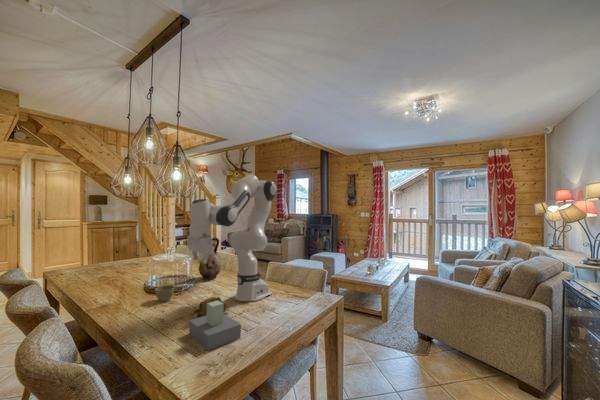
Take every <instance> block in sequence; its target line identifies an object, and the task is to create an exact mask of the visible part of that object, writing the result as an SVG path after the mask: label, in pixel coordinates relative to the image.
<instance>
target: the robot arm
mask: <svg viewBox="0 0 600 400" xmlns="http://www.w3.org/2000/svg"><path fill="white" fill-rule="evenodd" d="M230 190H231V191H230V193H231V196H232V197H233V199H234V200H233V201H232V202H231V203H230V204H228V205H215V204H213V203H211V202H210V201H209V199H206V198H201V199H195V200H193V201H192V203H191V204H190V207H189V208H190V209H189V210H190V211H189V219H190V224H189V230H187V231H186V233H185V234H186V236H187V237H186V238H187V239H186V243H187V249H188V250H189V251H191V254H192V256H193V257H192V258H193V261H198V260H199V256H198V254H201V255H202V258H203V260H202V259H201V260H202V263H204V264H205V263H207V259H208V256H209V255H211V254H213V250H214V247H213V243H214V241H212V237H211V236H210V235H211V232H210V231H211V227H210V225H214V226H224V227H231V226H233V225H234V224H235V222H236V221H237V220H238V216H239V215H240V213H241V212H242V211H243V209H244V208H245V207H246V206H247V204H248V203H249V201H250V199H251V198H252V199H253V198H255V203H254V205H253V207H252V208H251V210H250V213H249V215H248V218H247V224H248V225H249V230H248V231H247V230H237V231H234V232H232V233H231V234H230V237H229V244H230V246H231V247H232V248H233V250H234V251H235V254H236V257H237V258H236V259H237V264H238V265H237V268H238V270H237V271H238V272H237V276H236V277H237V279H236V281H237V288H236V293H235V296H234V298H235V300H237V301H240V302H258V300H259V301H261V300H263V299H265V298H264V297H266V296H268V295H270V296H272V295H273V292H272V290H270V287H269V285H268V283H267V282H265V281H264V280H262V279H261V278H260V277H263V276H264V274H263V273H261V272H258V259H257V257H256V256H255V255H254V254H253V252H260V251H264V250H265V249H266V247H267V245H268V237H267V236H266V234H265V225H266V224H267V220H268V218H269V215H270V213H271V208H272V201H273V199H274V198H275V197H276V195H277V192H278V186H277V184H276V183H275V182H274V181H272V180H259V179H258V177H257V176H256V175H254V174H248V175H246V176H243V177H242V178H240V179H239V180H238V181H236V182H235V183H234V184H233V185H232V187H231V189H230ZM203 256H204V257H203ZM271 294H272V295H271ZM268 297H269V296H268ZM262 298H263V299H262ZM266 298H267V297H266ZM260 299H261V300H260Z"/></svg>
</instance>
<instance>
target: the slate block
mask: <svg viewBox="0 0 600 400" xmlns="http://www.w3.org/2000/svg"><path fill="white" fill-rule="evenodd" d="M241 326H242V325H241V323H239V322H238V321H236V320H235V319H233V318H231V317H230V316H228V315H227V314H225V313H223V323H221V324H218V325H215V326H211V325H209V324H208V323H206V316H203V317H199V318H198V317H197V318H193V319H189V326H188V328H189V331H188V333H189V335H190V336H192V338H194V339H195V340H196V341H197V342H198V343H199V344H200V345H201V346H203V348H205V349H206V350H207V351H211V350H214V349H216V348H219V347H221V346H224V345H226V344H228V343H231V342H234V341H236V340H238V338H239V339H241V337H242V335H241V331H242V330H241V329H242V327H241Z"/></svg>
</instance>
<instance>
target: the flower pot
mask: <svg viewBox="0 0 600 400" xmlns="http://www.w3.org/2000/svg"><path fill="white" fill-rule="evenodd" d="M175 289H176V288H175V285H173V284H172V285H169V284H167V285H162V286H158V287H156V288H154V293H155V295H156V298H157V299H158V300H159V302H161V303H166V302H169V301H170V300H171V299H172V297H173V295H174V292H175Z"/></svg>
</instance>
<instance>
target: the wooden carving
mask: <svg viewBox="0 0 600 400" xmlns="http://www.w3.org/2000/svg"><path fill="white" fill-rule="evenodd" d="M217 300H218V301H220V302H222V299H221V297H219V296H218V297H214V296H213V297H209V298H206V299H205V300H203V301H200V303H199V309H197V310H196V309H195V310H194V311H193V313H194V314H195V315H196V317H197V318H199V317H203V316H206V315H207V303H210V302H214V301H217ZM222 303H224V312H223V313H224V314H225V312H226V309H227V307H228V304H227V303H225V302H222Z"/></svg>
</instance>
